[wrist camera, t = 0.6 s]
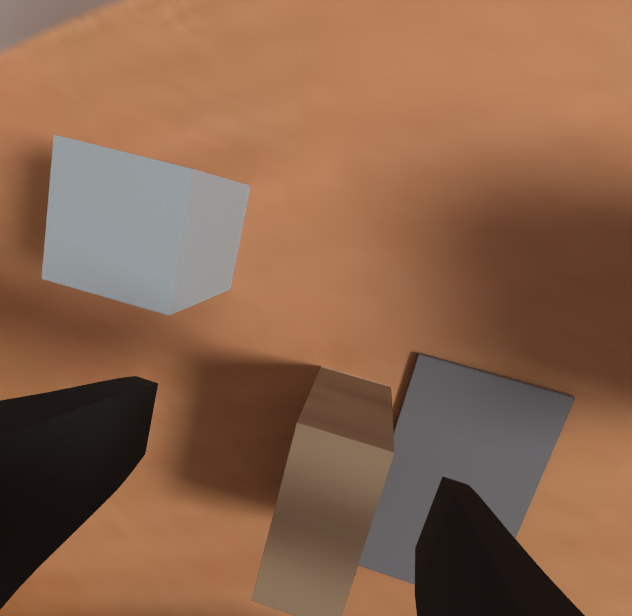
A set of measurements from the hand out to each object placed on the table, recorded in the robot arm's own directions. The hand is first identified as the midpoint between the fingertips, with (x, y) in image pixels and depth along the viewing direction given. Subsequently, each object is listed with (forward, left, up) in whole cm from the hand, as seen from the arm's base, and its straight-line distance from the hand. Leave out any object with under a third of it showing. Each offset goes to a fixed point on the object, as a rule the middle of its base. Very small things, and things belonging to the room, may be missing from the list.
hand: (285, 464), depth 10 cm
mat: (-5, -7, -10) cm, 14 cm away
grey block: (+4, +8, -10) cm, 14 cm away
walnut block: (-5, -1, -10) cm, 12 cm away
